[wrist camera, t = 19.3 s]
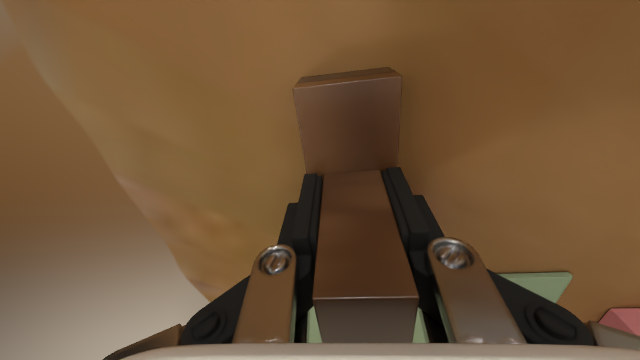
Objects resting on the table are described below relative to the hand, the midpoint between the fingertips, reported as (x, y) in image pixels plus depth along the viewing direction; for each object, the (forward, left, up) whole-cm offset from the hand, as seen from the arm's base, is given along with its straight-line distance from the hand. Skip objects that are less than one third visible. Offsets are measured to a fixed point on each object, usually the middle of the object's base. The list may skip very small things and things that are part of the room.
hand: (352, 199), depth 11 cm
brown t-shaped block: (0, 0, -3) cm, 3 cm away
